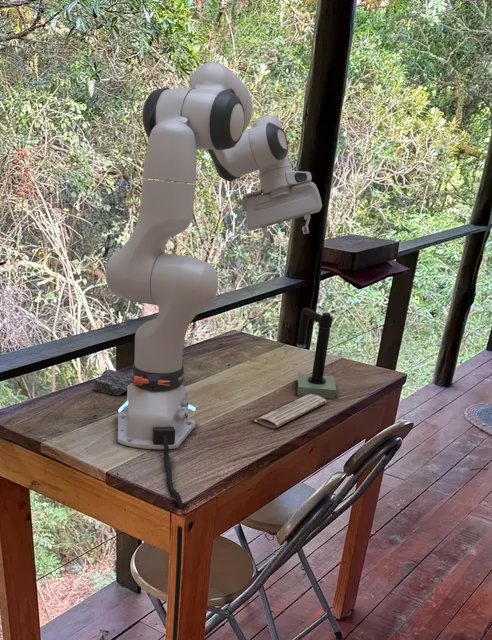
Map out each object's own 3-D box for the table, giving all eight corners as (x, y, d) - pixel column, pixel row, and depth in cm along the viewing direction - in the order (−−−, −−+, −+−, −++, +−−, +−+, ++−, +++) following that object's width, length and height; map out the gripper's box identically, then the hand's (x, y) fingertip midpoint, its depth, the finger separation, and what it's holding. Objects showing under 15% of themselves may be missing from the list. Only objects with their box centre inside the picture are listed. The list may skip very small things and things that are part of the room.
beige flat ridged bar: (276, 429, 180) (277, 422, 179) (252, 421, 184) (253, 414, 183) (326, 404, 196) (327, 398, 195) (302, 397, 200) (303, 391, 199)
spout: (329, 359, 200) (336, 313, 193) (318, 360, 198) (324, 314, 192) (304, 345, 210) (310, 301, 203) (293, 346, 208) (299, 301, 202)
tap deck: (334, 398, 200) (336, 390, 199) (297, 395, 201) (298, 386, 199) (332, 384, 209) (334, 376, 208) (297, 381, 210) (298, 373, 209)
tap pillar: (325, 385, 201) (334, 330, 194) (308, 383, 202) (315, 329, 194) (325, 379, 205) (333, 325, 198) (307, 377, 206) (315, 324, 198)
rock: (123, 398, 193) (123, 383, 191) (91, 390, 197) (91, 374, 195) (140, 390, 198) (140, 375, 196) (108, 382, 203) (108, 367, 200)
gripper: (239, 193, 197) (251, 246, 200) (316, 170, 194) (327, 225, 197) (239, 198, 203) (251, 250, 206) (314, 176, 200) (324, 229, 203)
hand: (288, 238), depth 201 cm, fingers open, 8 cm apart
